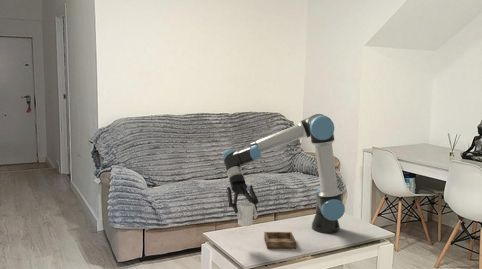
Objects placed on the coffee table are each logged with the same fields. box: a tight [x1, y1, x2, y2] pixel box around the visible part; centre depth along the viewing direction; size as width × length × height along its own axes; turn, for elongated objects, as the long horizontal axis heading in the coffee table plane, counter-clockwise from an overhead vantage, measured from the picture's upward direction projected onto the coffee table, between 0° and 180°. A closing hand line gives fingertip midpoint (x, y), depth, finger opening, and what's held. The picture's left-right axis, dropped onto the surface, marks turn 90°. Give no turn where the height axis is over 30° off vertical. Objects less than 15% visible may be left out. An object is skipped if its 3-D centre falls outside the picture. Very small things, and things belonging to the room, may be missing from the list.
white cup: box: [237, 201, 254, 227], centre depth 210 cm, size 8×8×10 cm
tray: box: [263, 231, 297, 250], centre depth 217 cm, size 14×14×4 cm
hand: (248, 218), depth 207 cm, fingers closed on white cup, 8 cm apart
